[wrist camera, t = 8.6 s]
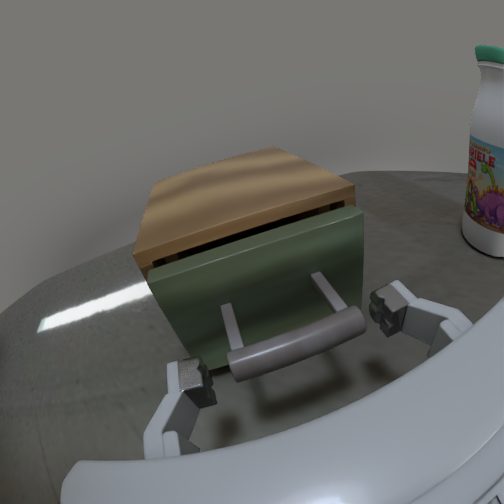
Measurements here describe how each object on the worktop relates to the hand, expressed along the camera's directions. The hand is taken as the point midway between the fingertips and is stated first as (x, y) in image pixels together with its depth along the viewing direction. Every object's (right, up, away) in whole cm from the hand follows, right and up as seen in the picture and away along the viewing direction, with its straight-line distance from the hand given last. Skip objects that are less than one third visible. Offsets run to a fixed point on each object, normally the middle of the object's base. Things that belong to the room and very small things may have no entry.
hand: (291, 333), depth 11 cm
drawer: (-1, 0, +9) cm, 9 cm away
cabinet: (-2, +1, +13) cm, 14 cm away
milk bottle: (+24, +5, +9) cm, 26 cm away
